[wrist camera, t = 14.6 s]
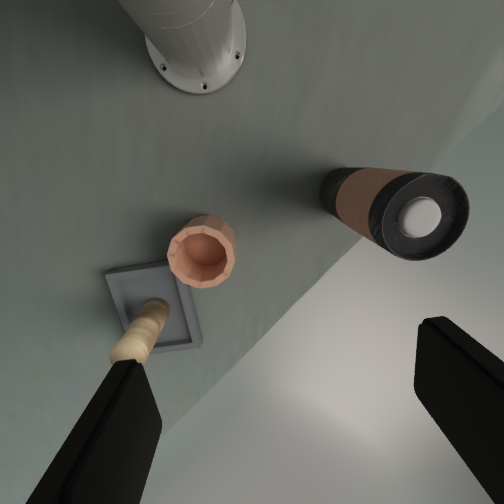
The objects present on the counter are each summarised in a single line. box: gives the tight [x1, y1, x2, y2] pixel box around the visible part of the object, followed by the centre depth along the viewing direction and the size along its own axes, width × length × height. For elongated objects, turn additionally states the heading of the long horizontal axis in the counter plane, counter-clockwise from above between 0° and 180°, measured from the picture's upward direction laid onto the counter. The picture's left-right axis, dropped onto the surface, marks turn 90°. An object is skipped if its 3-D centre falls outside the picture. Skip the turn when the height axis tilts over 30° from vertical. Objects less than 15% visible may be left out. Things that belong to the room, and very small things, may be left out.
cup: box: [167, 215, 236, 289], centre depth 40 cm, size 9×9×7 cm
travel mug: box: [320, 168, 469, 261], centre depth 32 cm, size 8×8×20 cm
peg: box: [110, 298, 171, 366], centre depth 40 cm, size 4×4×12 cm
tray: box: [105, 261, 203, 355], centre depth 46 cm, size 16×12×2 cm
